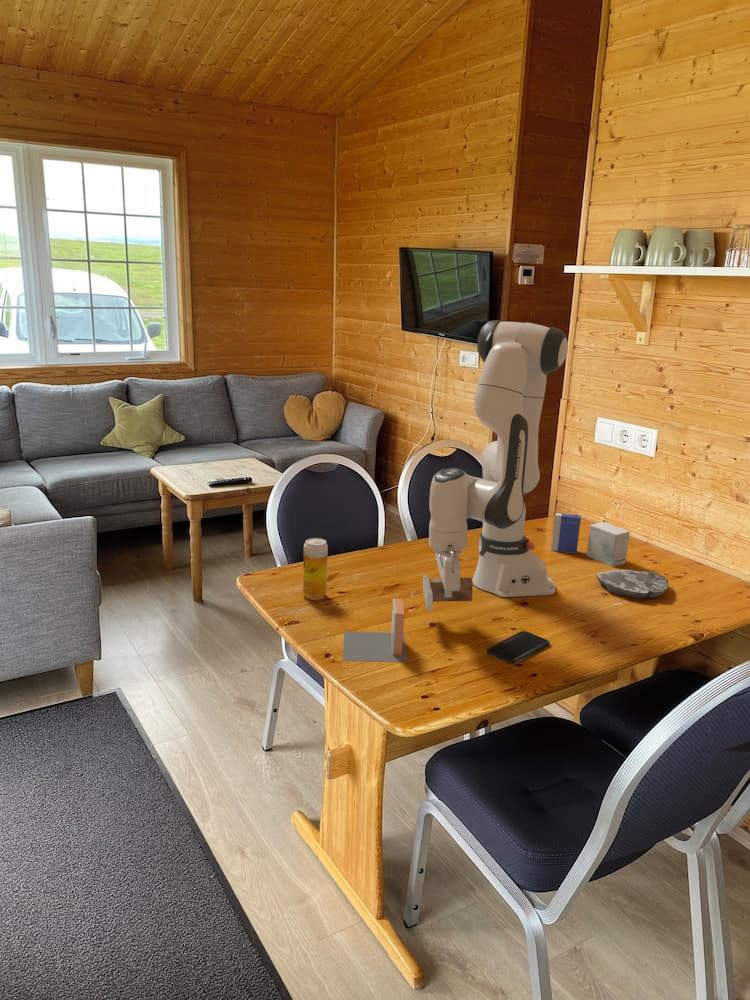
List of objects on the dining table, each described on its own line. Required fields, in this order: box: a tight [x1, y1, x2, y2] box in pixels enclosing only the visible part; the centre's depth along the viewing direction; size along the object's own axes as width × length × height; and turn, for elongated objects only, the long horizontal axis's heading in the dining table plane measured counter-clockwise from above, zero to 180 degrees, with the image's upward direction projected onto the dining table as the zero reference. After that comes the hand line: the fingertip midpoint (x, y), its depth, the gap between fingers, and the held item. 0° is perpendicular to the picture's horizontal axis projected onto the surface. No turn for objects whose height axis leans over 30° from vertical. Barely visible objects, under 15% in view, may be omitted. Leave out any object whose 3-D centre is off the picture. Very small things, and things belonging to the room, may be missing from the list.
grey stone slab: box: [595, 569, 669, 599], centre depth 211 cm, size 20×17×3 cm
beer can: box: [302, 537, 329, 601], centre depth 196 cm, size 6×6×15 cm
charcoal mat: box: [342, 630, 408, 663], centre depth 172 cm, size 14×14×1 cm
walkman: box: [550, 512, 582, 554], centre depth 238 cm, size 8×3×12 cm, turn 75°
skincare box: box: [586, 521, 631, 568], centre depth 232 cm, size 10×6×10 cm, turn 33°
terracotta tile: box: [390, 598, 405, 655], centre depth 170 cm, size 2×8×10 cm, turn 1°
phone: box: [486, 630, 550, 665], centre depth 175 cm, size 8×1×15 cm
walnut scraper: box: [422, 573, 474, 612], centre depth 182 cm, size 11×12×5 cm
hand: (446, 592), depth 182 cm, fingers closed on walnut scraper, 2 cm apart
